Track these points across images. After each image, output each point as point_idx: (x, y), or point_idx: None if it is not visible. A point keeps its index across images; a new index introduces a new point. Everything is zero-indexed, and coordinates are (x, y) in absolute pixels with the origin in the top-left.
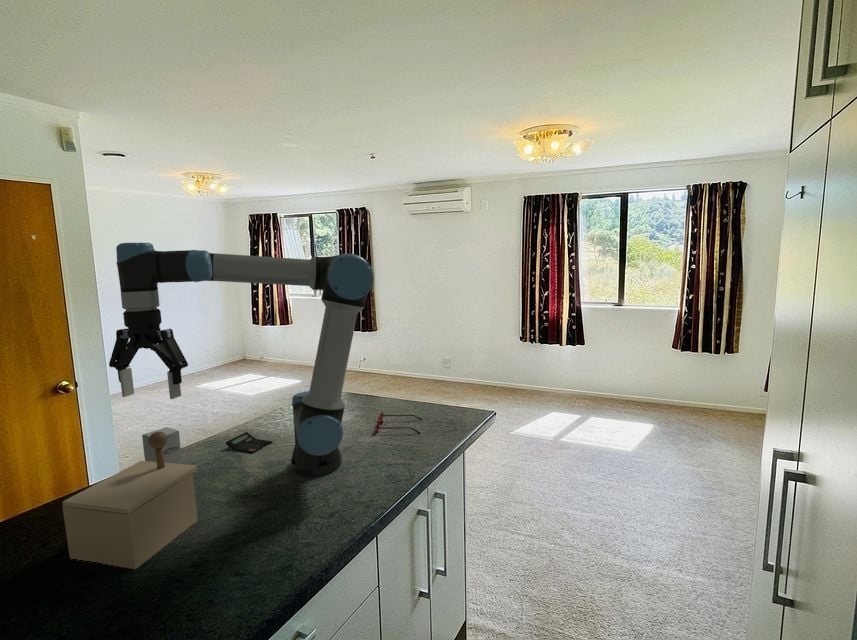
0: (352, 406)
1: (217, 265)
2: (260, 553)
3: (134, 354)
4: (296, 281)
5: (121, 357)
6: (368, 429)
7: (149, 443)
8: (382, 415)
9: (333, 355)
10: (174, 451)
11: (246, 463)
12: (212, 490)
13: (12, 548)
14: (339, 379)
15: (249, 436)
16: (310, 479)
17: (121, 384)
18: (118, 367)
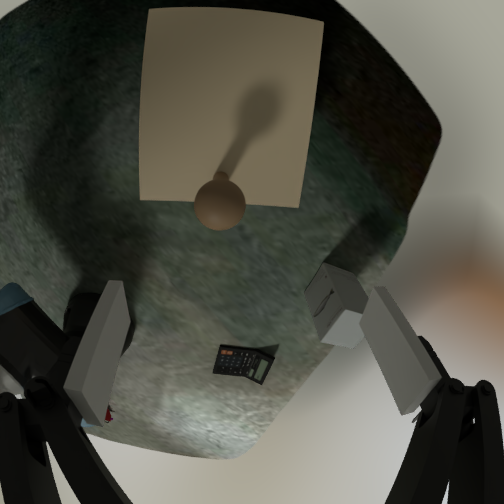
0: (175, 439)
1: None
2: (31, 110)
3: (394, 488)
4: None
5: (454, 447)
6: (110, 398)
7: (229, 181)
8: (108, 418)
9: None
10: (317, 308)
11: (209, 320)
12: (204, 241)
13: (400, 73)
14: None
15: (253, 378)
16: (80, 286)
17: (407, 324)
18: (451, 391)
